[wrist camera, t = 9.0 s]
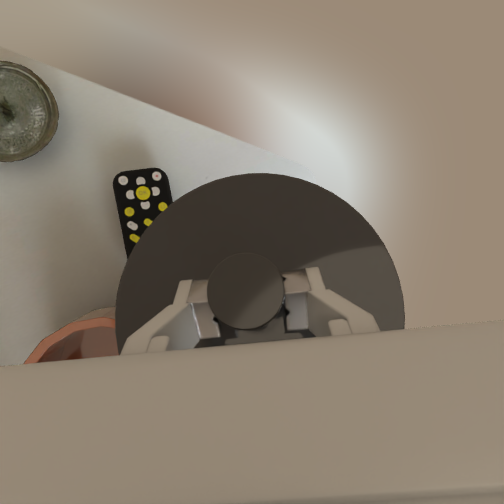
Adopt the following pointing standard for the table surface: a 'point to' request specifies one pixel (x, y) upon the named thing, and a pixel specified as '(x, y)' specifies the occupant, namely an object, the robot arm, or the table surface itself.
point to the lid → (24, 113)
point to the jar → (80, 339)
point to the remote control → (140, 201)
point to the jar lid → (256, 258)
